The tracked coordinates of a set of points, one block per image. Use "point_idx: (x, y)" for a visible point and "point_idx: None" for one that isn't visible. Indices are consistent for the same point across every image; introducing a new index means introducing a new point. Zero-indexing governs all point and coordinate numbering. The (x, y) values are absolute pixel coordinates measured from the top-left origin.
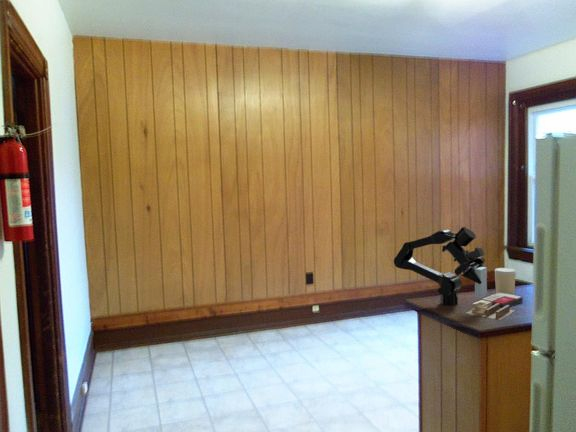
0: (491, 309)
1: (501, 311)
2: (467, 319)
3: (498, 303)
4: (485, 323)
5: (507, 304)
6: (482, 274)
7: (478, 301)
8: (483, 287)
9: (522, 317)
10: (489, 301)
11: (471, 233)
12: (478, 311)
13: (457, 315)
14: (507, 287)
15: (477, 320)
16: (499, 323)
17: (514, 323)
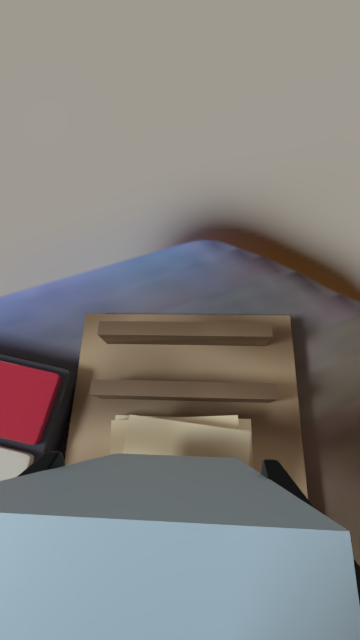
0: (219, 383)
1: (222, 324)
2: (357, 481)
3: (93, 386)
4: (345, 371)
5: (33, 361)
6: (209, 492)
7: None
8: (178, 462)
9: (138, 275)
10: None
11: None
12: (252, 457)
13: None
14: None
15: (330, 425)
16: (294, 319)
17: (246, 272)
